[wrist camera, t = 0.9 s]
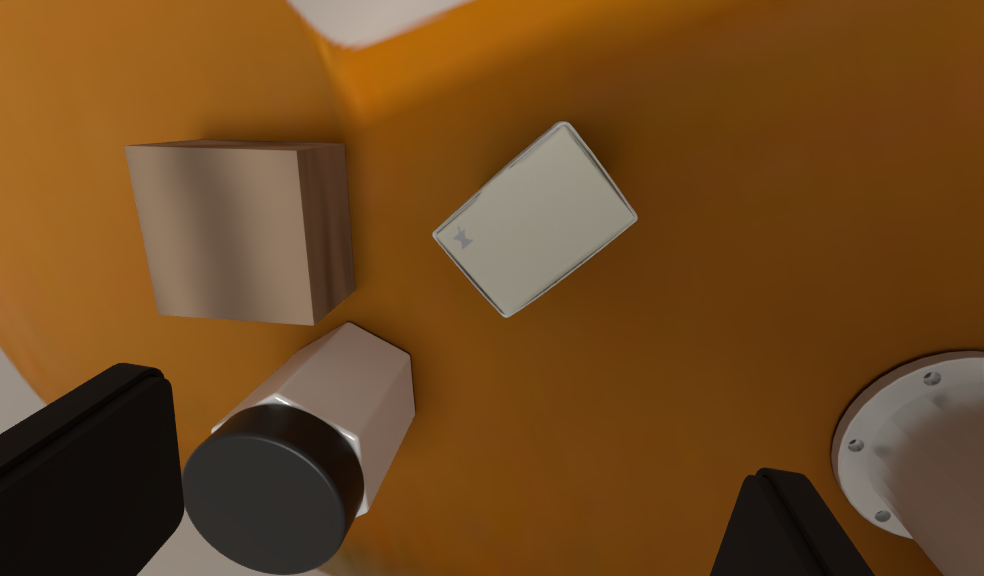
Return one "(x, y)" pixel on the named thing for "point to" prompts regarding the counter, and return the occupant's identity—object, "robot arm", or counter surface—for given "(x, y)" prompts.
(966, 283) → the counter surface
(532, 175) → the skincare box
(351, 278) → the brown square block
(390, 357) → the jar
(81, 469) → the robot arm
